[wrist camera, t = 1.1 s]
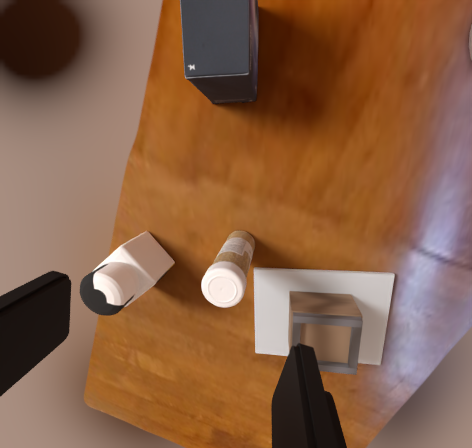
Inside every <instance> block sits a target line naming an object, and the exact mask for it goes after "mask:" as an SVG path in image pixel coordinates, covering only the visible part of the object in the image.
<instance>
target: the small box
mask: <svg viewBox="0 0 472 448" xmlns="http://www.w3.org/2000/svg"><path fill="white" fill-rule="evenodd" d="M180 7H181V22H182V39H183V55H184V71H185V77H186V79H187V80H189V81H190V82H191V83H192V84H193V85H194V86H195V87H197V89H199V90H200V91H201V92H202V93H203V94H204V95H205V96H206V97H207V98H208V99H209V100H210V101H211V102H212V103H213V104H219V103H231V102H232V103H233V102H235V103H236V102H242V103H244V102H251V101H256V98H257V73H258V1H257V0H180Z"/></svg>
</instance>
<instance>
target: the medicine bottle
mask: <svg viewBox="0 0 472 448" xmlns="http://www.w3.org/2000/svg"><path fill="white" fill-rule="evenodd" d="M174 264H175V262H174V260H173V259H172V258H171V257H170V256H169V255H168V254H167V252H166V251H165V250H164V249H163V248H162V247H161V246H160V244H159V243H158V242H157V241H156V240H155V239H154V238H153V237H152V235H151V234H150V233H149V232H148V231H146V232H144V233H142V234H140V235H139V236H137V237H135V238H133V239H132V240H130V241H128V242H126V243H125V244H123V245H121V246H120V247H119V248H118V249H116V250H115V251H114V252H113V253H112V254H111V255H110V256H109V257H108V258H107V259H105V260H104V261H103V262H102V263H101V264H100V265H99V266H98V267H97V268H95V269H94V270H93V272H91V273H90V274H88V275H87V276H85V277H84V278H83V280H82V281H81V285H80V295H81V298H82V300H83V302H84V304H85V305H86V306H87V307H88V308H89V309H90V310H92V311H93V312H95V313H97V314H100V315H114V314H116V313H118V312H119V311H120V310H121V309H122V308H123V307H126V306H128V305H129V304H131V303H132V302H133V301H134V300H136V299H137V298H138V297H140V296H141V295H142V294H143V293H145V292H146V291H147V290H149V289H150V288H151V287H153V286H154V285H155V284H156V283H157V282H158V281H159V280H160V279H161V278H162V277H163V276H164V275H165V274H166V273H167V272H168V270H169V269H170V268H171V267H172V266H173V265H174Z"/></svg>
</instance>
